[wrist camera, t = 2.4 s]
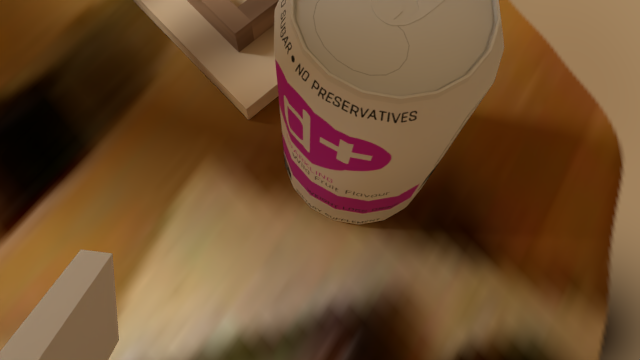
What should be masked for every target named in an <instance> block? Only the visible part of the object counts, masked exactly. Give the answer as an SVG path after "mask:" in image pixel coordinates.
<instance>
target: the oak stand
mask: <svg viewBox="0 0 640 360" xmlns="http://www.w3.org/2000/svg"><path fill="white" fill-rule="evenodd" d="M133 1H134V2H135V3H136V4H137V5H138V6H139V7H140V8H141V9H142V10H143V11H144V12H145V13H146V14H147V15H148V16H149V17H150V18H151V19H152V20H153V21H154V23H155V24H156V25H157V26H158V27H159V28H160V29H161V30H162V31H163V32H164V33H165V34H166V35H167V36H168V37H169V38H170V39H171V40H172V41H173V42H174V43H175V44H176V45H177V46H178V47H179V48H180V49H181V50H182V51H183V53H184V54H185V55H186V56H187V57H188V58H189V59H190V60H191V61H192V62H193V63H194V64H195V65H196V66H197V67H198V68H199V69H200V70H201V71H202V72H203V73H204V74H205V75H206V76H207V77H208V78H209V79H210V80H211V81H212V83H213V84H214V85H215V86H216V87H217V88H218V89H219V90H220V91H221V92H222V93H223V94H224V95H225V96H226V97H227V98H228V99H229V100H230V101H231V102H232V103H233V104H234V105H235V106H236V107H237V108H238V109H239V110H240V111H241V113H242V114H243V115H244V116H245V117H246V118H247V119H248V120H249V119H251V118H252V117H253V116H254V115H256V114H257V113H258V112H259V111H260V110H262V109H263V108H264V107H265V106H267V105H268V104H269V103H270V102H271V101H273V100H274V99H275V98H276V97H278V96H279V95H278V84H277V74H276V63H275V52H274V14H275V8H276V6H277V3H278V1H279V0H133Z"/></svg>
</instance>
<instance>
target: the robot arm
mask: <svg viewBox="0 0 640 360" xmlns="http://www.w3.org/2000/svg"><path fill="white" fill-rule="evenodd" d="M118 341H119V336H118V322H117V309H116V296H115V282H114V269H113V256H112V253H104V252H96V251H88V250H80V251H79V253H78V254H77V255H76V256H75V258H74V259H73V260H72V261H71V263H70V264H69V265H68V267H67V268H66V269H65V270H64V272H63V273H62V274H61V275H60V277H59V278H58V279H57V280H56V282H55V283H54V284H53V285H52V287H51V288H50V289H49V290H48V292H47V293H46V294H45V296H44V297H43V298H42V299H41V301H40V302H39V303H38V304H37V306H36V307H35V308H34V309H33V311H32V312H31V313H30V314H29V316H28V317H27V318H26V320H25V321H24V322H23V323H22V325H21V326H20V327H19V328H18V330H17V331H16V332H15V333H14V335H13V336H12V337H11V338H10V340H9V341H8V342H7V344H6V345H5V346H4V347H3V349H2V350H1V351H0V360H108V359H109V357H110V355H111V353H112V352H113V350H114V348H115V346H116V344H117V342H118ZM639 360H640V359H639Z"/></svg>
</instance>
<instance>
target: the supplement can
mask: <svg viewBox="0 0 640 360" xmlns="http://www.w3.org/2000/svg"><path fill="white" fill-rule="evenodd" d="M503 50H504V41H503V33H502V25H501V16H500V7H499V0H279V1H278V3H277V6H276V8H275V14H274V52H275V63H276V74H277V84H278V95H279V105H280V116H281V127H282V137H283V148H284V158H285V166H286V169H287V172H288V174H289V177H290V180H291V183H292V185H293V188H294V189H295V190H296V192H297V193H298V194H299V195H300V196H301V197H302V199H303V200H304V201H305V202H306V203H307V204H308V205H309V207H310V208H312V209H314V210H316V211H318V212H319V213H321V214H323V215H325V216H326V217H328V218H330V219H332V220H335V221H341V222H347V223H353V224H358V225H359V224H365V223H370V222H376V221H382V220H385V219H387V218H389V217H390V216H392V215H394V214H396V213H397V212H399V211H401V210H403V209H404V208H406V207H407V206H408V204H409V203H410V202H411V201H412V199H413V198H414V197H415V196H416V195H417V193H418V192H419V191H420V190H421V188H422V187H423V185H424V184H425V182H426V181H427V179H428V178H429V177H430V175H431V174H432V172H433V171H434V169H435V168H436V166H437V165H438V163H439V162H440V160H441V159H442V158H443V156H444V155H445V153H446V152H447V150H448V149H449V147H450V146H451V144H452V143H453V141H454V140H455V138H456V137H457V136H458V134H459V133H460V131H461V130H462V128H463V127H464V125H465V124H466V122H467V121H468V119H469V118H470V116H471V115H472V114H473V112H474V111H475V109H476V108H477V106H478V105H479V103H480V102H481V100H482V99H483V97H484V96H485V94H486V93H487V92H488V90H489V89H490V87H491V86H492V84H493V83H494V81H495V77H496V74H497V71H498V67H499V64H500V60H501V57H502V53H503Z"/></svg>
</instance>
